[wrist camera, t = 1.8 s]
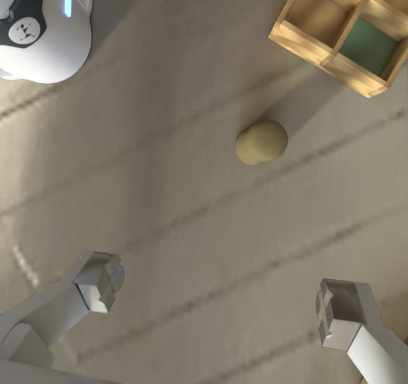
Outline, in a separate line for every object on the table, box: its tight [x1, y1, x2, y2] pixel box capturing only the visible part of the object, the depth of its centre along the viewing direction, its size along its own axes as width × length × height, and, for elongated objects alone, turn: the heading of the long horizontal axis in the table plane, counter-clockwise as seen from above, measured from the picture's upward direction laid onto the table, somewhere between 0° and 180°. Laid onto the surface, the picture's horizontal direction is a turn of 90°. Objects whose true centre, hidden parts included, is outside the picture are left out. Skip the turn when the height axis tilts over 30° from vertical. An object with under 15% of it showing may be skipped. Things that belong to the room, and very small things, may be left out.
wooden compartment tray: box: [268, 0, 408, 98], centre depth 40 cm, size 18×18×5 cm
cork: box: [235, 120, 288, 165], centre depth 39 cm, size 6×6×11 cm
